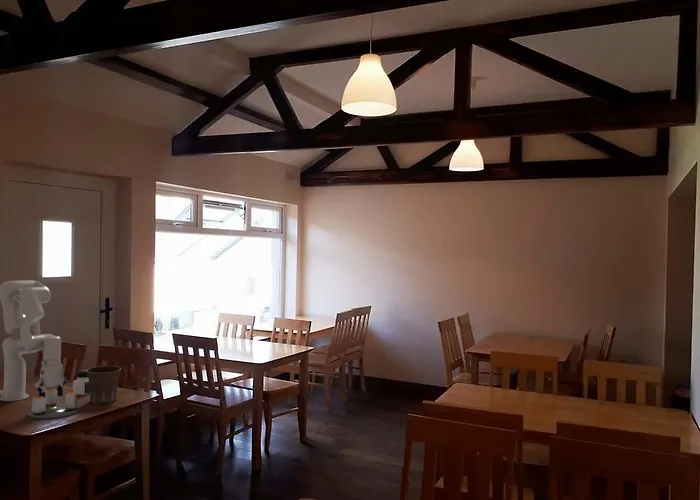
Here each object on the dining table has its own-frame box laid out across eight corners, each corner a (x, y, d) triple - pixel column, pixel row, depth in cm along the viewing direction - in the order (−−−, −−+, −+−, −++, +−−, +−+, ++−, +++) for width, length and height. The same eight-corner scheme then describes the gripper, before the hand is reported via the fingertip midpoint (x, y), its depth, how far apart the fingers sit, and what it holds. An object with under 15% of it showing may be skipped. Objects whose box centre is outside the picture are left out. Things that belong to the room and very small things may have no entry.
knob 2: (48, 407, 269) (49, 391, 269) (42, 405, 271) (43, 389, 271) (58, 404, 273) (58, 389, 273) (52, 403, 276) (52, 387, 276)
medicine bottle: (84, 395, 298) (85, 372, 299) (72, 394, 300) (73, 371, 300) (93, 392, 305) (93, 369, 306) (81, 391, 307) (82, 368, 307)
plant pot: (108, 406, 279) (109, 373, 279) (78, 403, 282) (79, 371, 282) (126, 397, 295) (127, 366, 295) (98, 395, 298) (98, 365, 298)
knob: (35, 415, 255) (36, 398, 255) (30, 413, 258) (30, 396, 258) (46, 413, 259) (47, 396, 259) (41, 411, 262) (41, 394, 262)
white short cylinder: (63, 410, 264) (64, 394, 264) (67, 407, 269) (68, 391, 269) (74, 410, 265) (75, 394, 265) (78, 407, 270) (79, 391, 270)
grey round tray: (19, 419, 254) (19, 414, 254) (39, 406, 275) (39, 401, 275) (68, 419, 257) (69, 413, 257) (84, 406, 278) (84, 401, 278)
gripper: (41, 366, 263) (40, 403, 263) (72, 360, 279) (71, 394, 279) (29, 364, 266) (28, 401, 266) (61, 358, 282) (60, 393, 282)
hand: (50, 398), depth 272 cm, fingers open, 9 cm apart
